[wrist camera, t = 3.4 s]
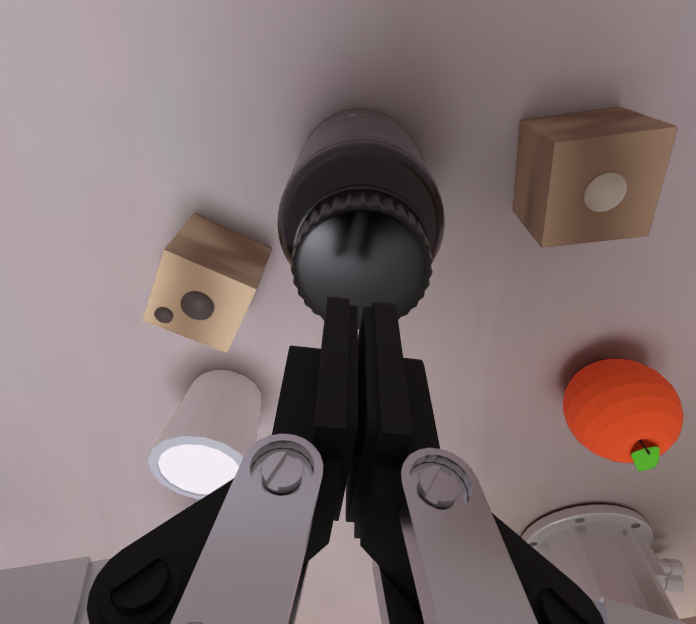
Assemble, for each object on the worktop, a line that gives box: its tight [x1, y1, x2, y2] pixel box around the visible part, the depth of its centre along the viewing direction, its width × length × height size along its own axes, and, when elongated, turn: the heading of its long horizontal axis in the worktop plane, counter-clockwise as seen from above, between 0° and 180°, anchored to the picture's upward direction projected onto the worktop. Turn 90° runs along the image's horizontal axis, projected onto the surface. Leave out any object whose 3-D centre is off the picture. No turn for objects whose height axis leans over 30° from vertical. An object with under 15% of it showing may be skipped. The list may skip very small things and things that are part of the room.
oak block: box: [143, 213, 272, 353], centre depth 26 cm, size 5×5×5 cm
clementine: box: [563, 359, 683, 472], centre depth 30 cm, size 8×7×7 cm
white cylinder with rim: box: [148, 370, 262, 499], centre depth 32 cm, size 7×7×7 cm
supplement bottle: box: [278, 110, 445, 329], centre depth 20 cm, size 7×7×12 cm
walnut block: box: [513, 107, 678, 247], centre depth 22 cm, size 5×5×5 cm
